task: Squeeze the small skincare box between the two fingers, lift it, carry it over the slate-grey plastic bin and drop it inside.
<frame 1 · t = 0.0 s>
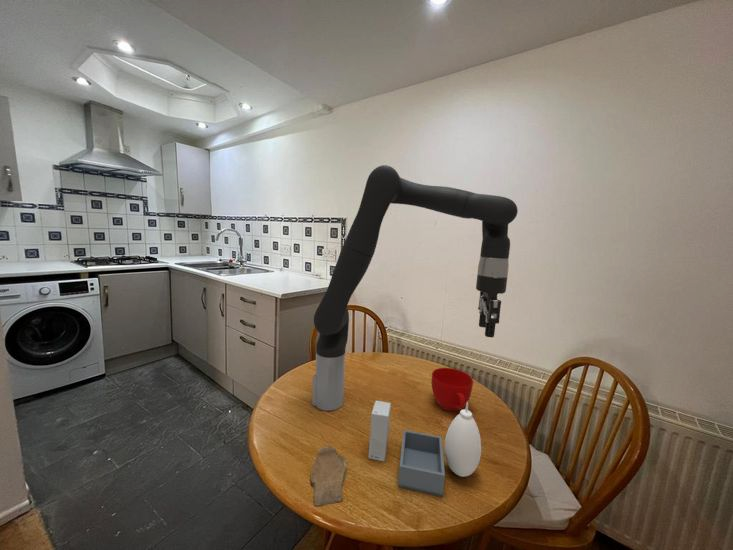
hand: (485, 331, 78), 29 cm above the table, fingers open, 8 cm apart
ceramic cup: (451, 409, 91), on the table
sauce bottle: (459, 473, 66), on the table
skincare box: (378, 452, 71), on the table
bin: (420, 469, 66), on the table
pottery shard: (328, 476, 64), on the table
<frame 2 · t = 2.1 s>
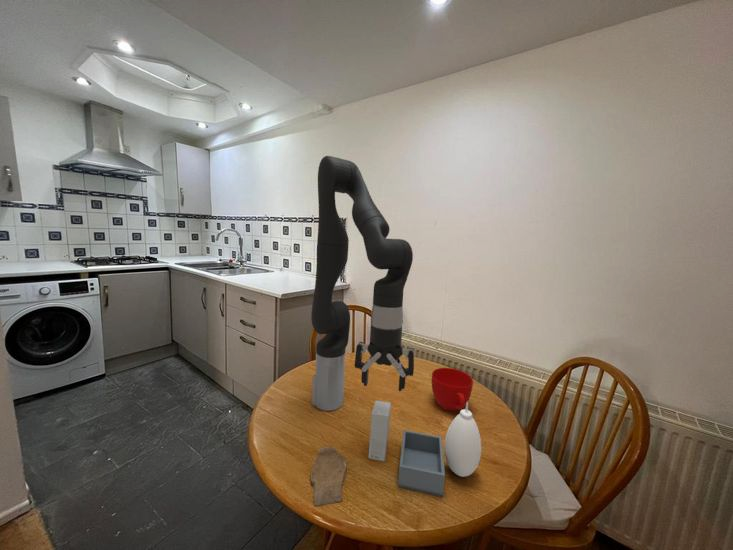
hand: (382, 387, 69), 17 cm above the table, fingers open, 8 cm apart
nothing on the table moved.
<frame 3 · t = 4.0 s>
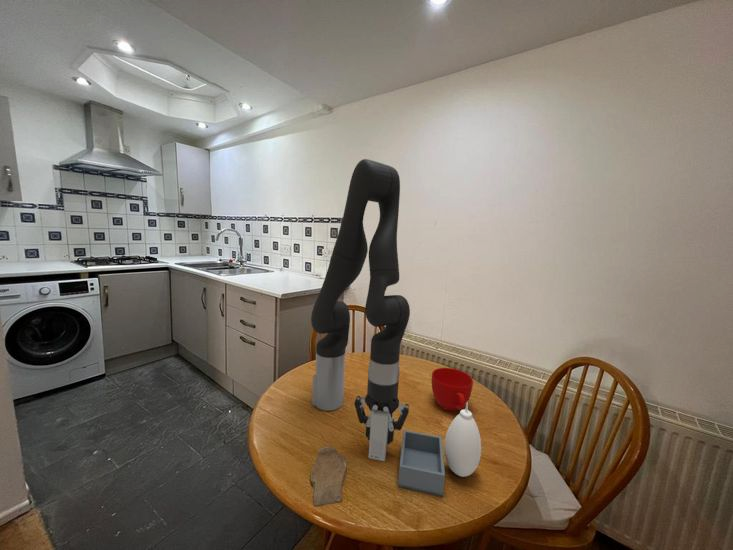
hand: (379, 439, 71), 3 cm above the table, fingers closed on skincare box, 4 cm apart
skincare box: (378, 452, 71), on the table, touching gripper
everything else where it was.
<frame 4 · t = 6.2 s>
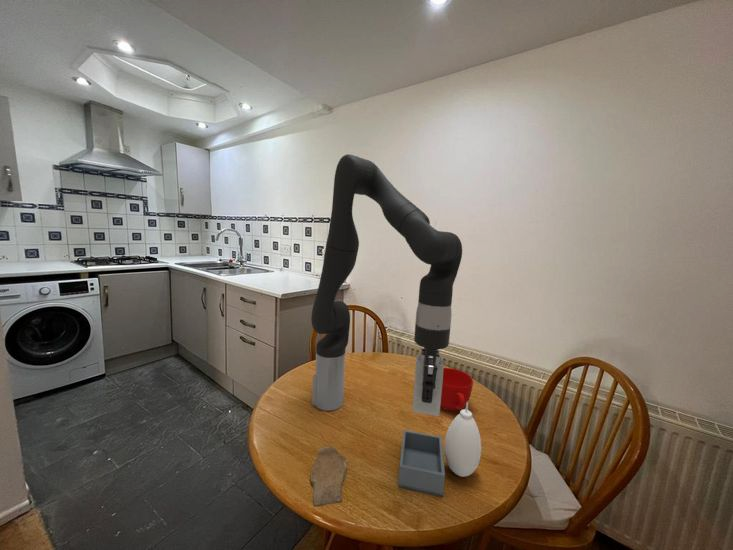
hand: (426, 395, 64), 19 cm above the table, fingers closed on skincare box, 4 cm apart
skincare box: (425, 409, 64), point 15 cm above the table, touching gripper
everything else where it was.
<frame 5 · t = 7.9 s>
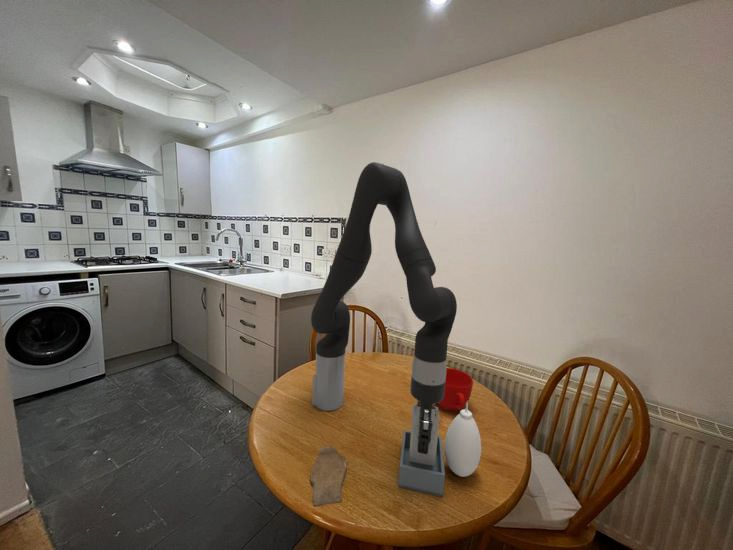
hand: (422, 444, 65), 7 cm above the table, fingers closed on skincare box, 4 cm apart
skincare box: (421, 458, 66), point 3 cm above the table, touching gripper
everything else where it was.
when the fingers open (6 cm above the table, at t = 8.8 s): skincare box drops 2 cm, resting on bin.
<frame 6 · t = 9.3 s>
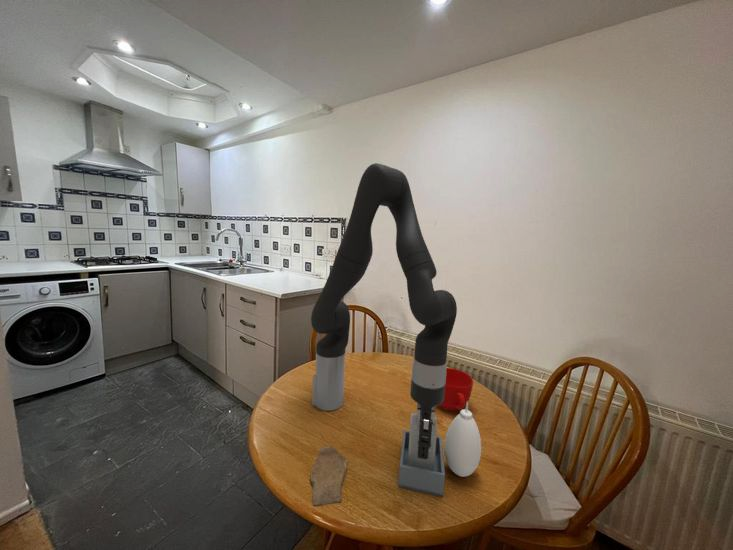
hand: (422, 443, 65), 7 cm above the table, fingers open, 8 cm apart
skincare box: (419, 467, 66), resting on bin
everything else where it was.
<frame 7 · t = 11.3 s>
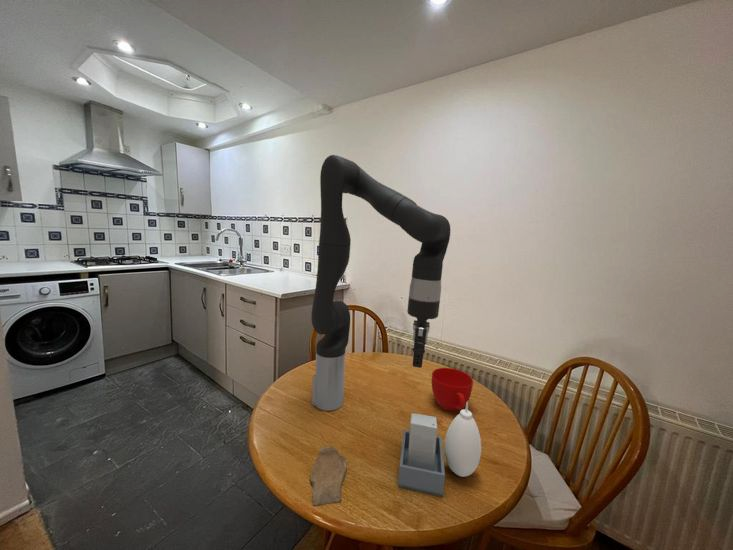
hand: (417, 359, 71), 24 cm above the table, fingers open, 8 cm apart
nothing on the table moved.
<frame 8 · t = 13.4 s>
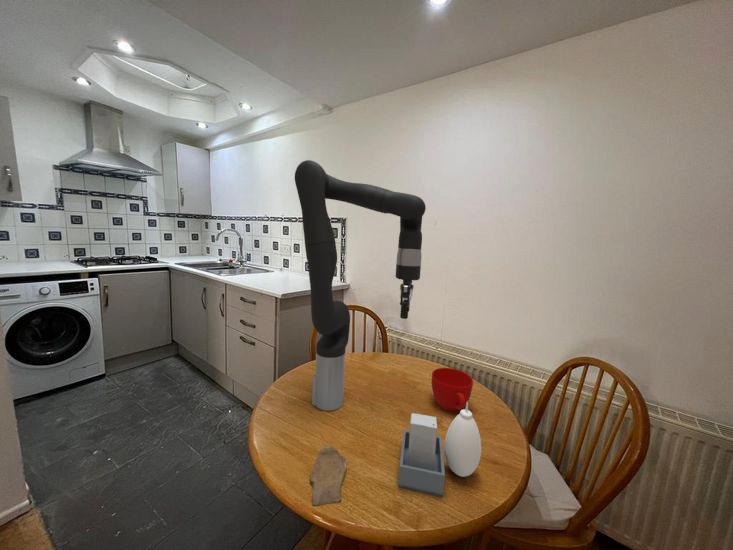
hand: (404, 314, 89), 30 cm above the table, fingers open, 8 cm apart
nothing on the table moved.
at the end: skincare box inside the target area on the bin (0.2 cm from its centre), point 0.4 cm above the bin's base; the gripper is holding nothing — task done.
